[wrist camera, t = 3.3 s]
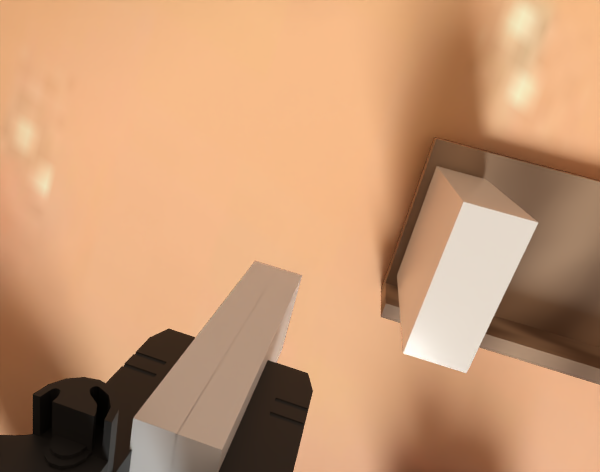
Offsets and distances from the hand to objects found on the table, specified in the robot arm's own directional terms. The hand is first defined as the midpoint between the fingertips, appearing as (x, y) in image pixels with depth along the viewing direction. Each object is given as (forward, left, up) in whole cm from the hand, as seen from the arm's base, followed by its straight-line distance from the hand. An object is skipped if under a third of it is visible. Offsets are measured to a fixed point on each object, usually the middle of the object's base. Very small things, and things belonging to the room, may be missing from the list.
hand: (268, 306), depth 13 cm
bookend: (+7, 0, -15) cm, 17 cm away
